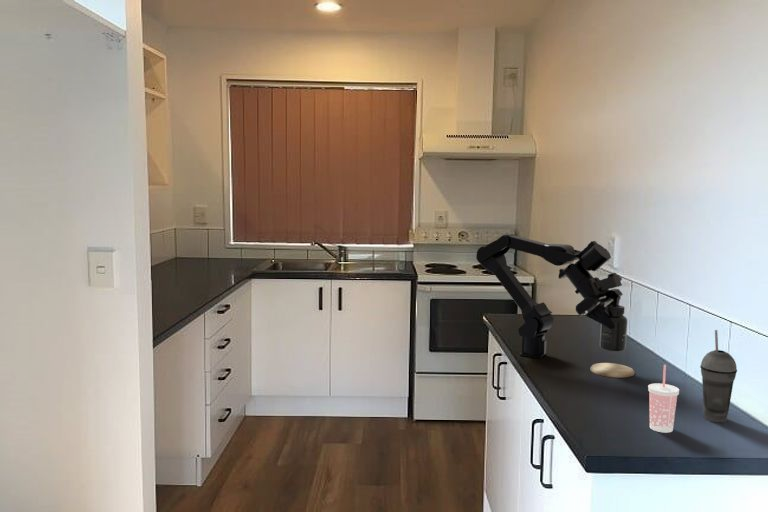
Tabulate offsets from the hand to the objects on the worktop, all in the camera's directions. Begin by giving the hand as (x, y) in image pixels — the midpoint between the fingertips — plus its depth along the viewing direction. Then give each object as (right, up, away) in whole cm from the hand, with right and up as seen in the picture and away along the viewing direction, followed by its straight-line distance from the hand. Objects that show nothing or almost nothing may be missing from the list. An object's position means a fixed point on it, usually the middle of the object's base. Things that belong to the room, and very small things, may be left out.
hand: (618, 326), depth 174 cm
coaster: (-1, -13, +3) cm, 13 cm away
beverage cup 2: (+9, -17, -32) cm, 38 cm away
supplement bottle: (-1, -7, +2) cm, 7 cm away
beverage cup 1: (-5, -18, -38) cm, 42 cm away
